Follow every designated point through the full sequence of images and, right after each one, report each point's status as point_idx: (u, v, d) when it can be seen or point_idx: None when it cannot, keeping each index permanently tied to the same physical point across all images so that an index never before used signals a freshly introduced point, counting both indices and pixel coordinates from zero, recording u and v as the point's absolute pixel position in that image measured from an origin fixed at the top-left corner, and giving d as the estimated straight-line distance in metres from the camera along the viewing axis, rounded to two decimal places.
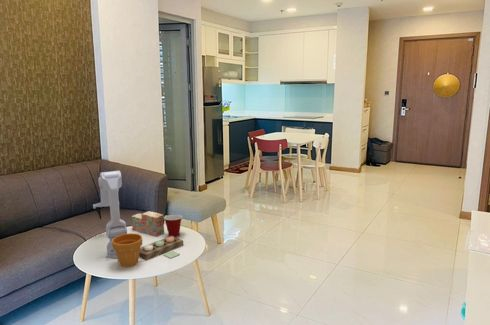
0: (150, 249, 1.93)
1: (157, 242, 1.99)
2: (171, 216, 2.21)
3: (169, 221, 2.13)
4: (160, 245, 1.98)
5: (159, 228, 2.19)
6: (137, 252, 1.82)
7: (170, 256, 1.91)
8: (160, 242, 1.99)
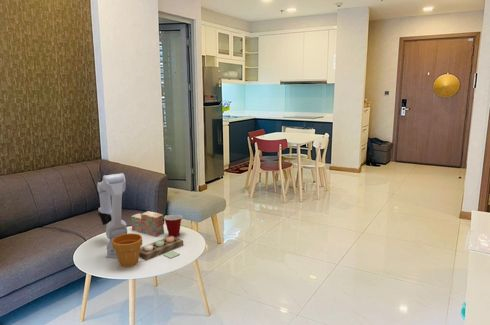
0: (150, 249, 1.93)
1: (157, 242, 1.99)
2: (171, 216, 2.21)
3: (169, 221, 2.13)
4: (160, 245, 1.98)
5: (159, 228, 2.19)
6: (137, 252, 1.82)
7: (170, 256, 1.91)
8: (160, 242, 1.99)
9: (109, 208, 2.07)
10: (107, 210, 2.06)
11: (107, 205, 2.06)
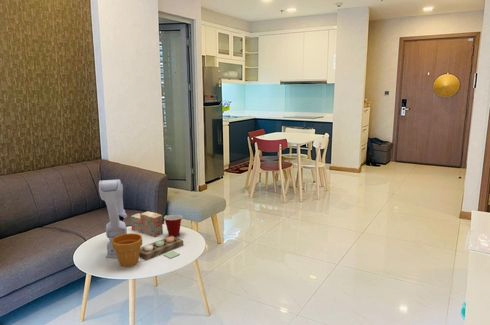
0: (150, 249, 1.93)
1: (157, 242, 1.99)
2: (171, 216, 2.21)
3: (169, 221, 2.13)
4: (160, 245, 1.98)
5: (157, 228, 2.18)
6: (137, 252, 1.82)
7: (170, 256, 1.91)
8: (160, 242, 1.99)
9: (121, 209, 2.05)
10: (119, 211, 2.04)
11: (119, 206, 2.04)
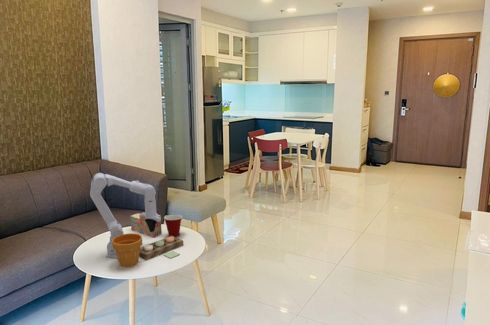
0: (150, 249, 1.93)
1: (157, 242, 1.99)
2: (171, 216, 2.21)
3: (169, 221, 2.13)
4: (160, 245, 1.98)
5: (156, 229, 2.18)
6: (137, 252, 1.82)
7: (170, 256, 1.91)
8: (160, 242, 1.99)
9: (154, 213, 1.98)
10: (152, 215, 1.97)
11: (153, 210, 1.96)
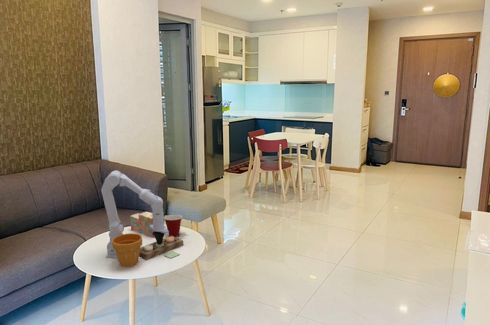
0: (150, 249, 1.93)
1: (157, 244, 1.99)
2: (171, 216, 2.21)
3: (169, 221, 2.13)
4: None
5: None
6: (137, 252, 1.82)
7: (170, 256, 1.91)
8: (160, 244, 1.99)
9: (162, 226, 1.96)
10: (160, 228, 1.95)
11: (160, 223, 1.95)
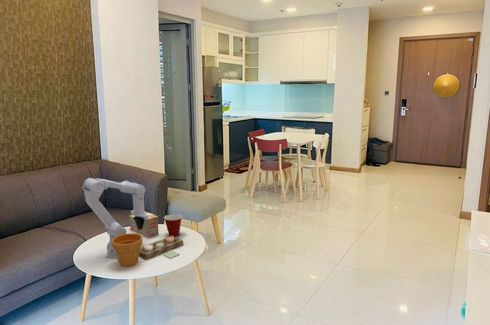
0: (150, 249, 1.93)
1: (157, 244, 1.99)
2: (171, 216, 2.21)
3: (169, 221, 2.13)
4: None
5: (152, 230, 2.16)
6: (137, 252, 1.82)
7: (170, 256, 1.91)
8: (160, 244, 1.99)
9: (142, 211, 2.02)
10: (140, 213, 2.01)
11: (140, 208, 2.01)
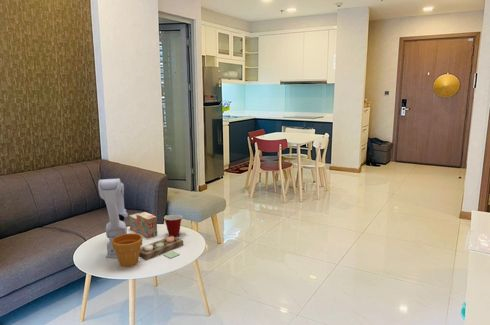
0: (150, 249, 1.93)
1: (157, 244, 1.99)
2: (171, 216, 2.21)
3: (169, 221, 2.13)
4: None
5: (151, 230, 2.16)
6: (137, 252, 1.82)
7: (170, 256, 1.91)
8: (160, 244, 1.99)
9: (122, 209, 2.06)
10: (120, 211, 2.05)
11: (120, 206, 2.04)
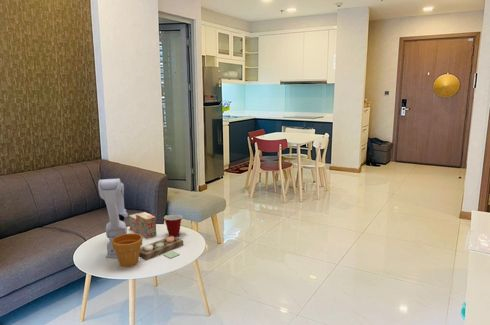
0: (150, 249, 1.93)
1: (157, 244, 1.99)
2: (171, 216, 2.21)
3: (169, 221, 2.13)
4: None
5: (150, 230, 2.16)
6: (137, 252, 1.82)
7: (170, 256, 1.91)
8: (160, 244, 1.99)
9: (122, 209, 2.06)
10: (120, 211, 2.05)
11: (120, 206, 2.04)
